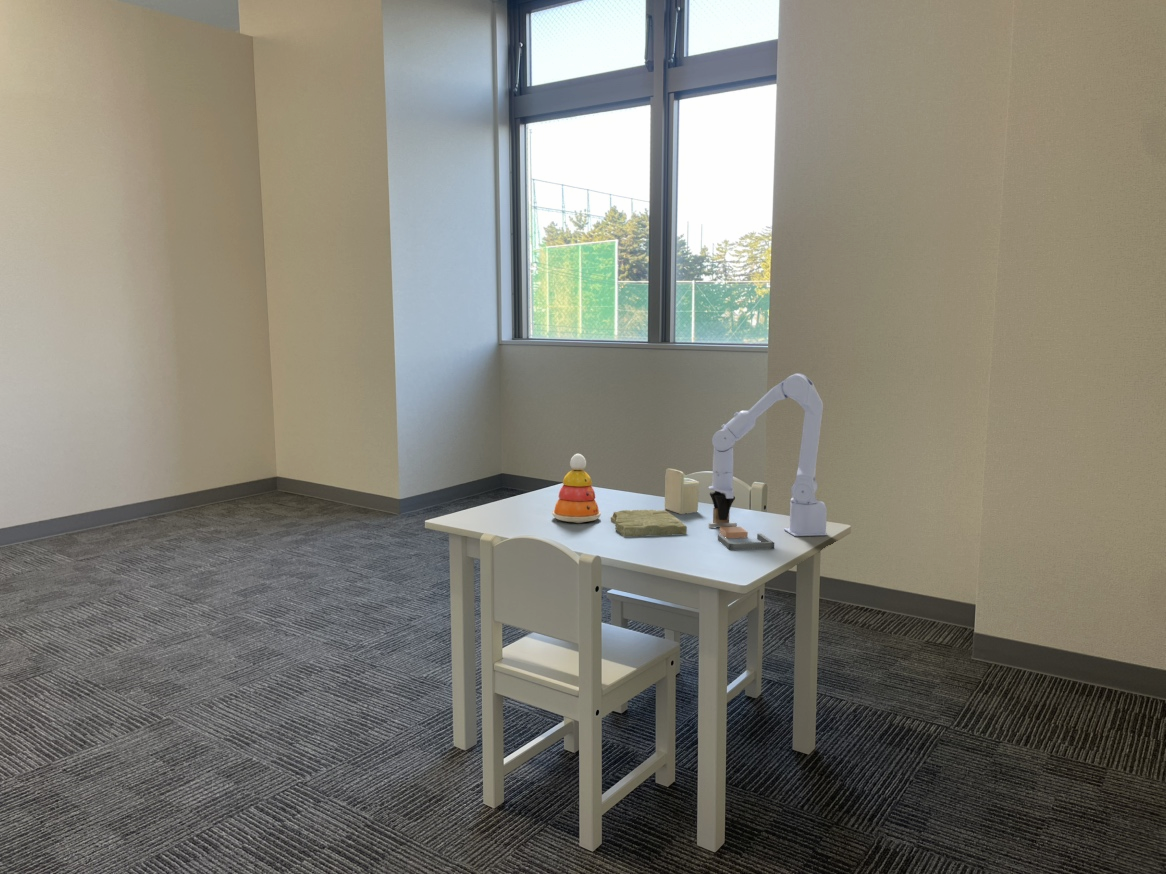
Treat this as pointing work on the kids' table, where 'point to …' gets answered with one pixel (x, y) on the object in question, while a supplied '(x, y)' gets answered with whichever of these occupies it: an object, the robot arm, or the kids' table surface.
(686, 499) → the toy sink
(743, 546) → the slate frame
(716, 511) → the walnut scraper
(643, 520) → the decorative tile
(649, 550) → the kids' table surface
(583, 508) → the stacking toy
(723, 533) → the terracotta tile
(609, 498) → the kids' table surface
